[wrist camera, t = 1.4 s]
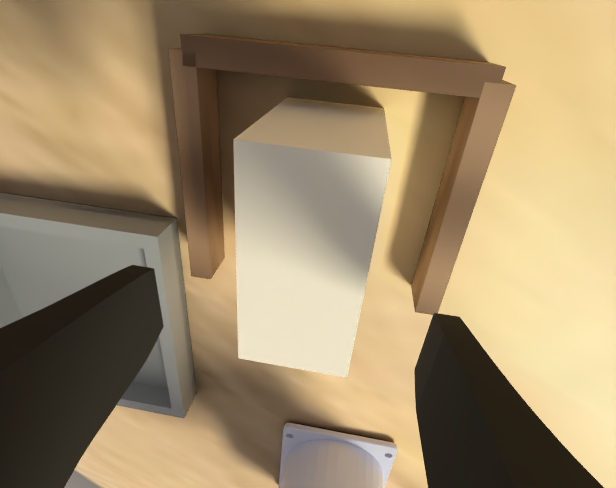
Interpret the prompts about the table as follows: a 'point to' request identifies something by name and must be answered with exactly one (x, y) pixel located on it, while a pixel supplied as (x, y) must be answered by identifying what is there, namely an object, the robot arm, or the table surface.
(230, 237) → the table surface
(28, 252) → the grey tray
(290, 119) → the beige rectangular block
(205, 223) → the walnut dock
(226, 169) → the table surface
